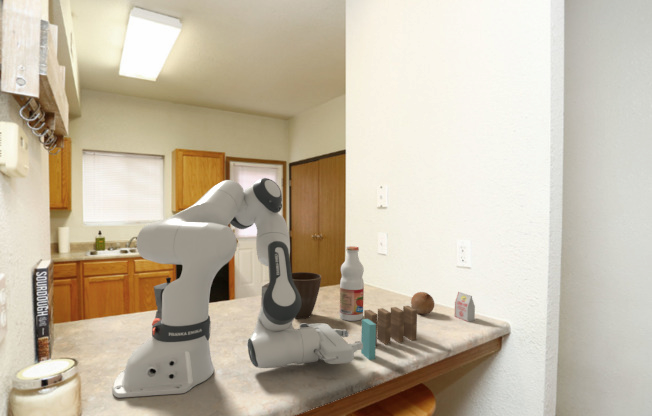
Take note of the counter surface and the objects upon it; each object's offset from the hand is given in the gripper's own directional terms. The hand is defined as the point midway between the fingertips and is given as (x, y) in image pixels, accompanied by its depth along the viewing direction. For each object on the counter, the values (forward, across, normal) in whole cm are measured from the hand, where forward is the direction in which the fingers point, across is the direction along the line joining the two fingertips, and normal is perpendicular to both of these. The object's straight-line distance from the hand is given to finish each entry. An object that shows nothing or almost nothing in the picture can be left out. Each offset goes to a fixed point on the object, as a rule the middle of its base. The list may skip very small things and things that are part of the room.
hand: (354, 338), depth 97 cm
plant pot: (-3, +41, +6) cm, 41 cm away
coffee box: (-17, +29, +6) cm, 34 cm away
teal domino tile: (+4, 0, +6) cm, 7 cm away
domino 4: (+24, +8, +6) cm, 26 cm away
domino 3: (+20, +8, +6) cm, 22 cm away
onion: (+46, +29, +6) cm, 54 cm away
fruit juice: (+15, +33, +6) cm, 36 cm away
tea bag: (+58, +18, +6) cm, 60 cm away
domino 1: (+10, +8, +6) cm, 14 cm away
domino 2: (+14, +8, +6) cm, 17 cm away
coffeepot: (-52, +40, +6) cm, 66 cm away
